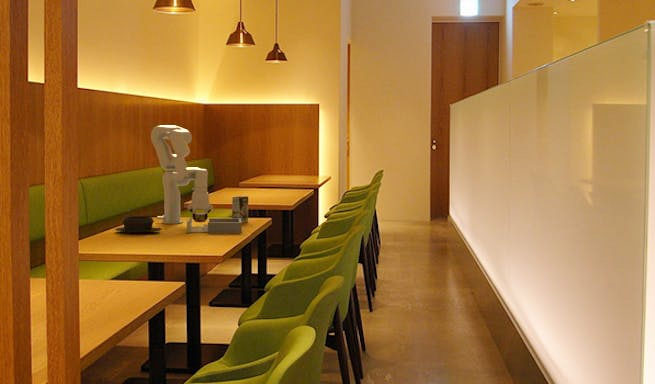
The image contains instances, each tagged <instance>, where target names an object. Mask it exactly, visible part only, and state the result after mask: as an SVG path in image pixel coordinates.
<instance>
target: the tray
mask: <svg viewBox="0 0 655 384" xmlns="http://www.w3.org/2000/svg"><path fill="white" fill-rule="evenodd" d="M192 217H193V216H191V217H190V216H189V217H188V219H187V221H186V233H187V234H190V233H208V223H207V224H206V223H205V224H202V226H192V220H193V219H192Z"/></svg>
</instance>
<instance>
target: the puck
mask: <svg viewBox="0 0 655 384" xmlns="http://www.w3.org/2000/svg"><path fill="white" fill-rule="evenodd" d="M194 222H195V223H205V222H206V221H205V213H203V212H202V213H200V212H198V213H197V212H195V220H194Z"/></svg>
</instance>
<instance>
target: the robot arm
mask: <svg viewBox="0 0 655 384" xmlns="http://www.w3.org/2000/svg"><path fill="white" fill-rule="evenodd" d="M150 137H151V142H152V143H151V144H152V145H153V146H154V150H155V152H156V156H157V157H158V162H159V164H160V167H161V169H163V170H165V171H166V172H164V173H163V175H162V185H163V191H164V193H163V194H164V199H163V200H164V201H163V203H164V208H163V209H164V214H163V215H162V216H161V215H159V216H158V215H157V216H156V219H157V220H161V223H162V224H166V225H167V224H168V225H170V224H172V225H173V224H183V223H184V220H182V219H181V191H180V189H179V187H184V186H185V187H186V186H187V185H189V183H190V182H191V181H193V182H194V185H193V187H191V191H193V192H192V195H191V203H190V204H188V205H187V207H186V209H188V211H190V213H192V216H191V217H192V220H193V221H195V214H196V210H202V211H203V210H204V214H205V222H206V221H207V220H209V218H208V214H209V213H210V212H211V211H213V209H214V207H213V205H212V204H211V203H210V196H209V195H210V194H209V192H208V176H209V175H208V174H209V173H208V169H206V168H200V167H188V165H187V162H186V160H185V159H186V158H185V157H188V156H189V154H190V153H191V150H190V147H189V146H188V144H190V143H191V142H192V139H193V137H192V134H191V132H190V131H189V130H188V129H186V128H183V127H180V126H178V125H170V124H169V125H168V124H167V125H166V124H165V125H163V124H162V125H155V126H154V127H153V128H152V129H151V133H150ZM166 140H169V142H170V143H171V147H172V149H173V151H174V153H172V149H171V147H170V145H169V144H168V143H167V142H166Z"/></svg>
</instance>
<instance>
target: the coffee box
mask: <svg viewBox="0 0 655 384" xmlns="http://www.w3.org/2000/svg"><path fill="white" fill-rule="evenodd" d="M231 200H232V202H231V203H232V204H231V205H232V207H231V208H232V209H231V211H232V213H231V218H241V222H242V224H246V222H247V223H248V222H249V196H241V195H240V196H232V198H231Z"/></svg>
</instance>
